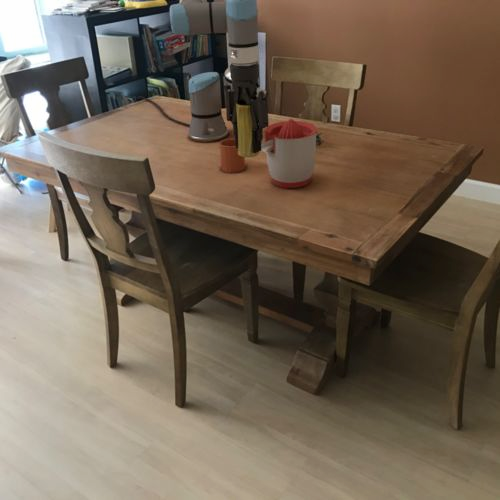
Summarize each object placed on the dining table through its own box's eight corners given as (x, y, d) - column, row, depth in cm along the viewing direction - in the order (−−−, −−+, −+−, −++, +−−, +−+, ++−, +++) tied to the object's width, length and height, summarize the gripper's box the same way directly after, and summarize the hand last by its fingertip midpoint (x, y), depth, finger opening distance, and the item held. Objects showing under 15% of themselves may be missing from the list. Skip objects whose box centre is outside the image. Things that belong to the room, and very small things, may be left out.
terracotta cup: (216, 169, 173) (214, 143, 169) (232, 161, 178) (231, 136, 174) (234, 174, 169) (232, 148, 164) (250, 166, 174) (248, 141, 169)
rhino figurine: (318, 150, 184) (319, 134, 181) (293, 140, 193) (293, 125, 190) (327, 147, 186) (327, 131, 183) (301, 138, 195) (301, 122, 192)
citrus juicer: (253, 178, 166) (250, 117, 155) (301, 167, 171) (301, 108, 161) (274, 197, 153) (273, 132, 143) (325, 185, 159) (327, 121, 148)
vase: (235, 157, 142) (232, 106, 135) (239, 149, 147) (237, 99, 140) (257, 157, 141) (255, 106, 134) (260, 149, 146) (259, 99, 139)
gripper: (208, 61, 135) (215, 146, 147) (263, 70, 124) (265, 160, 136) (227, 56, 139) (233, 138, 151) (282, 64, 128) (283, 152, 141)
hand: (248, 149), depth 144 cm, fingers closed on vase, 6 cm apart
